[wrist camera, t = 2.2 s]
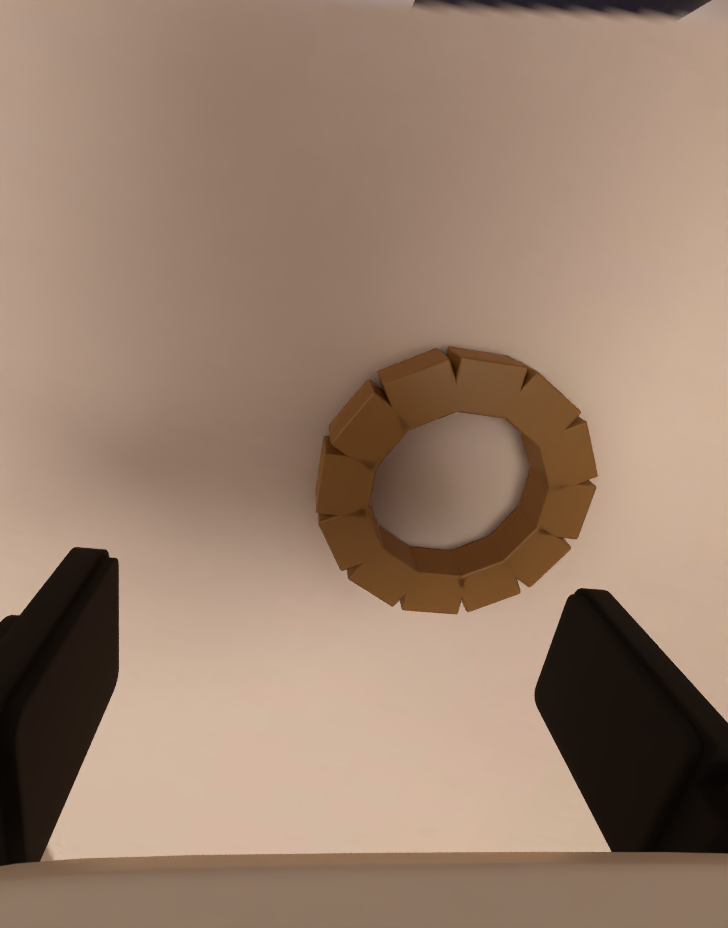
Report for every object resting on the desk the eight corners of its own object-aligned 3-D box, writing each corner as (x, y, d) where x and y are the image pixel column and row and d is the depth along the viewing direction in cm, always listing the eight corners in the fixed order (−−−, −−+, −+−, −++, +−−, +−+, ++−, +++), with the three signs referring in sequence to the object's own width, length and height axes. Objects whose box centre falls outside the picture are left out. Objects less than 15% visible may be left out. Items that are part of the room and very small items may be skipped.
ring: (339, 329, 16) (342, 338, 14) (607, 371, 17) (635, 383, 15) (303, 575, 19) (303, 603, 17) (530, 594, 20) (548, 622, 19)
